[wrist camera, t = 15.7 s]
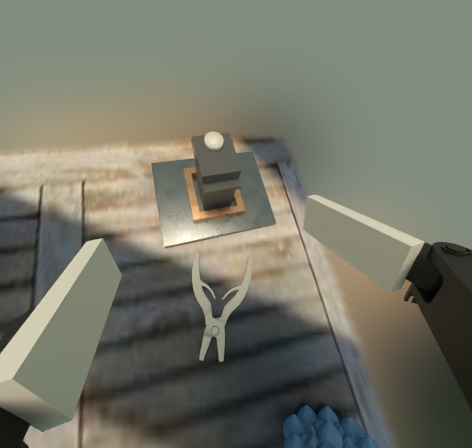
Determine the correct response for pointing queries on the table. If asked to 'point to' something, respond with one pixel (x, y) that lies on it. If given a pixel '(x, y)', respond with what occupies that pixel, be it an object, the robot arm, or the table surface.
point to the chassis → (191, 209)
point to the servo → (216, 169)
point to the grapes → (323, 431)
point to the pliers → (212, 324)
